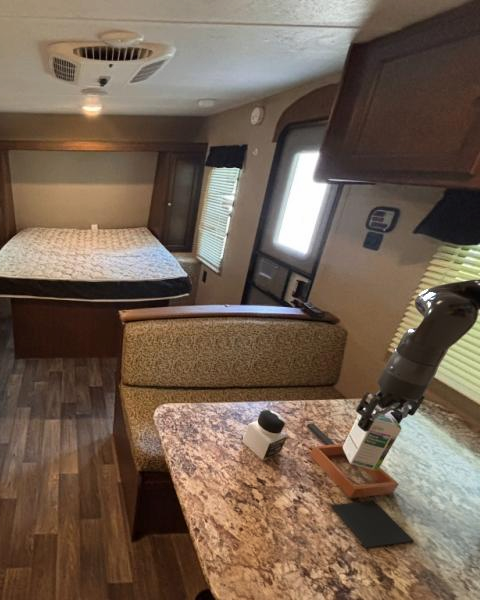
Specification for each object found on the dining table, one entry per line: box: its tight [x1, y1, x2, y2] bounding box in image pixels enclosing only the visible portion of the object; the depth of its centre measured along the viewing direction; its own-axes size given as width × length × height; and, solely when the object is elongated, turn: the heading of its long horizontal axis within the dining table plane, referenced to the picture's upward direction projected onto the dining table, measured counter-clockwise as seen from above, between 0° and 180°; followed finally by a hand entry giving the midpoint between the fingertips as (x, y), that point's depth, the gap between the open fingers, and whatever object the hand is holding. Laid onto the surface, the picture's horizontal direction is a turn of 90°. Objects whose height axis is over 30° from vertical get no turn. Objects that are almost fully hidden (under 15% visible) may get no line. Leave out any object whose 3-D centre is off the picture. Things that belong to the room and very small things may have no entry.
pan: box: [306, 422, 399, 499], centre depth 87 cm, size 13×21×4 cm, turn 8°
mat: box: [330, 499, 414, 549], centre depth 72 cm, size 12×9×1 cm
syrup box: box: [343, 408, 402, 471], centre depth 79 cm, size 6×6×14 cm
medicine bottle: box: [242, 409, 288, 462], centre depth 88 cm, size 7×7×12 cm
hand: (376, 427), depth 78 cm, fingers closed on syrup box, 7 cm apart
